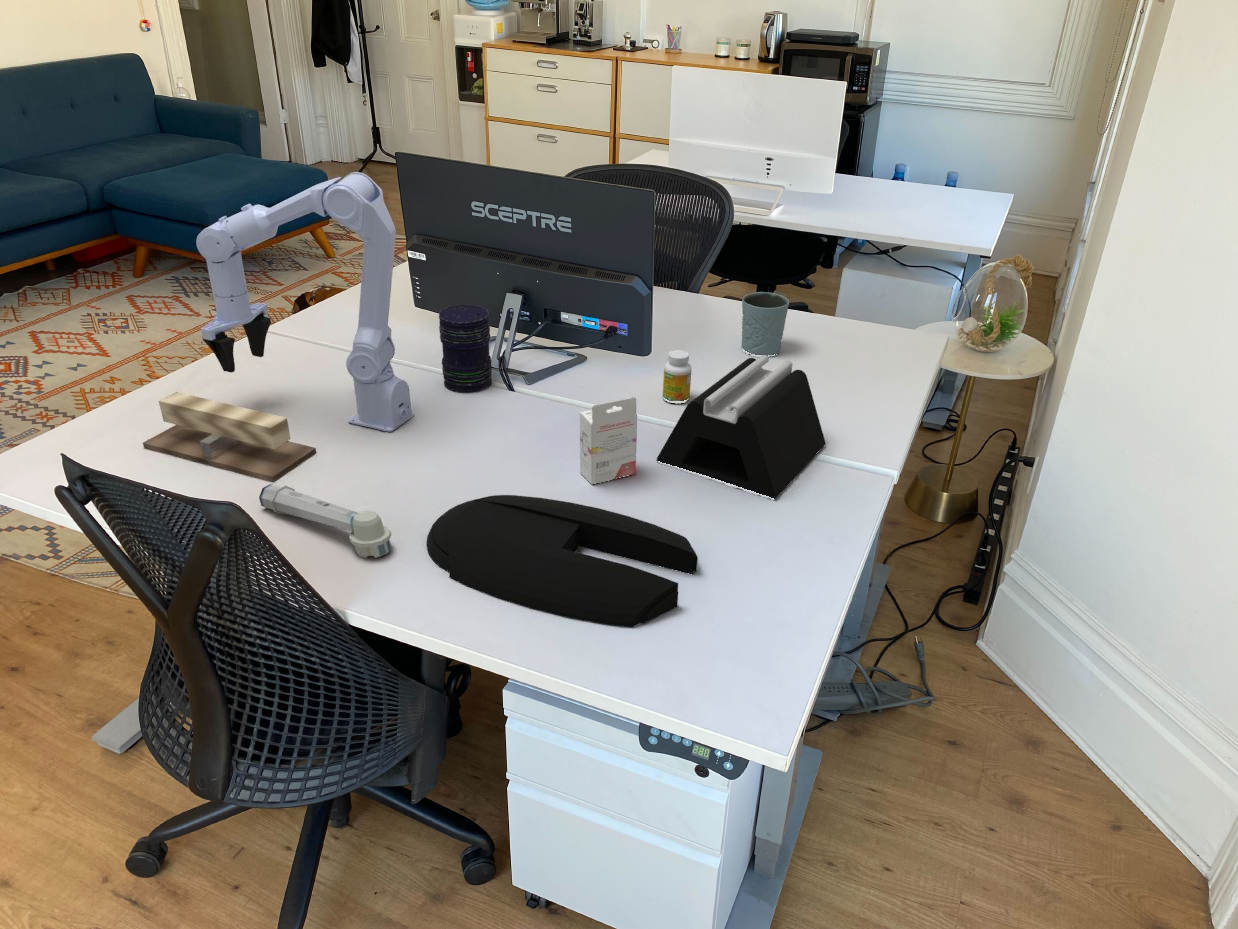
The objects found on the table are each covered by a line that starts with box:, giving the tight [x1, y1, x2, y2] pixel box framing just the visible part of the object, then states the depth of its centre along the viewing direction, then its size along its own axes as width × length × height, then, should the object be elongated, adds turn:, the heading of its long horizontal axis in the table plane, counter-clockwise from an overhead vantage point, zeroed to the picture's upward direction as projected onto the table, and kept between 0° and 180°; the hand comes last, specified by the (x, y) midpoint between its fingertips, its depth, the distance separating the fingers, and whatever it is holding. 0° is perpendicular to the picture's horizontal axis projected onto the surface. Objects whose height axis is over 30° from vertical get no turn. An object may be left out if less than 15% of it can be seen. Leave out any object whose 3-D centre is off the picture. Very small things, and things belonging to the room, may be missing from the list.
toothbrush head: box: [258, 483, 392, 559], centre depth 139 cm, size 5×7×25 cm
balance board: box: [142, 424, 317, 483], centre depth 160 cm, size 28×11×1 cm, turn 68°
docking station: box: [426, 494, 699, 628], centre depth 134 cm, size 25×40×5 cm, turn 68°
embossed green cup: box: [741, 291, 790, 356], centre depth 203 cm, size 10×10×12 cm
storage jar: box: [438, 304, 493, 394], centre depth 183 cm, size 10×10×15 cm
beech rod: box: [158, 391, 291, 449], centre depth 157 cm, size 24×4×4 cm, turn 68°
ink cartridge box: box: [579, 396, 638, 485], centre depth 153 cm, size 9×5×15 cm, turn 117°
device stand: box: [656, 355, 826, 500], centre depth 160 cm, size 22×22×15 cm
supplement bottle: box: [662, 349, 692, 401], centre depth 181 cm, size 5×5×10 cm
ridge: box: [200, 434, 242, 459], centre depth 159 cm, size 2×10×3 cm, turn 158°
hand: (243, 363), depth 168 cm, fingers open, 7 cm apart
